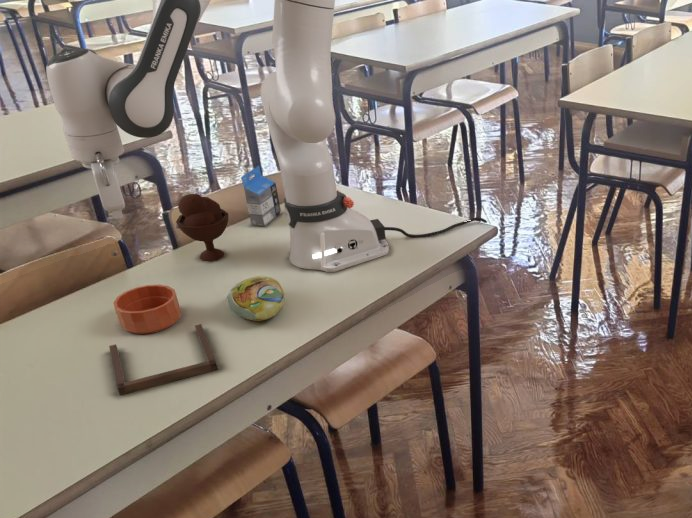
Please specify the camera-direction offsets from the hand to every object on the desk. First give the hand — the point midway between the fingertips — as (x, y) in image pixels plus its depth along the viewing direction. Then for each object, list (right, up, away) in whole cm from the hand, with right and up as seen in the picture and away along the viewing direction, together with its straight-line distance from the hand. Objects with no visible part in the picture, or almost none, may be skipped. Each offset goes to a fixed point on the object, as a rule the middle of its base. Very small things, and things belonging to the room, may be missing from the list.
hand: (118, 216), depth 148 cm
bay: (+13, -28, -9) cm, 32 cm away
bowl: (+5, -20, +3) cm, 21 cm away
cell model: (+26, -18, +6) cm, 32 cm away
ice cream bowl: (+8, -4, +26) cm, 28 cm away
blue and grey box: (+15, +9, +43) cm, 46 cm away
